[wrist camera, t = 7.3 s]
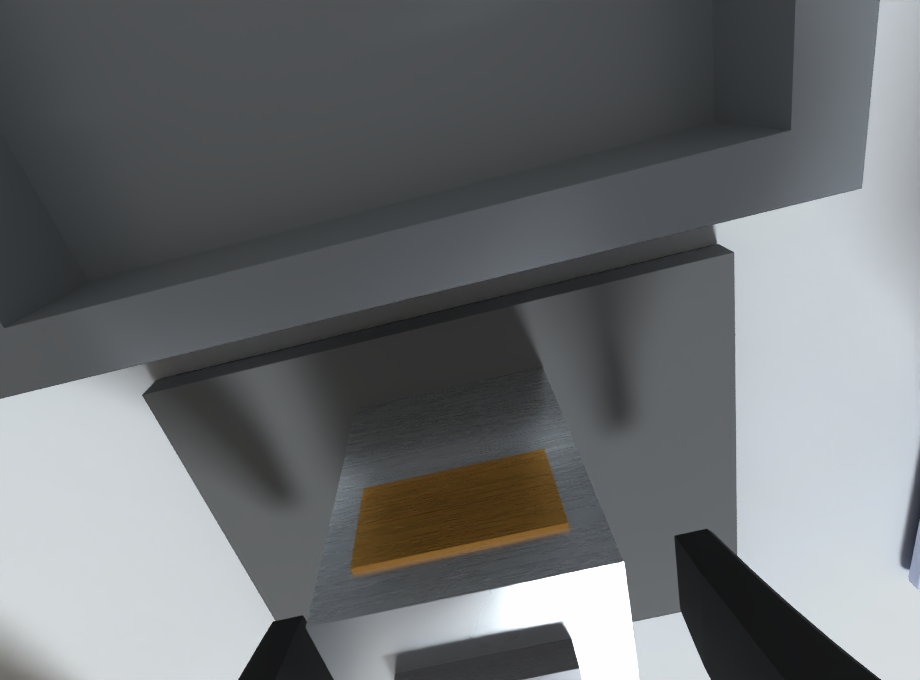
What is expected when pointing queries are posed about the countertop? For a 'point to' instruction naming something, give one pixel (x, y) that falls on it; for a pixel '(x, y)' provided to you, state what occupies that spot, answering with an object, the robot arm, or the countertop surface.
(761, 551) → the countertop surface
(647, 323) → the grey flat panel
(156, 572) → the countertop surface
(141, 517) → the countertop surface
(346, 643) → the block
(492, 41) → the case
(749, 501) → the countertop surface
